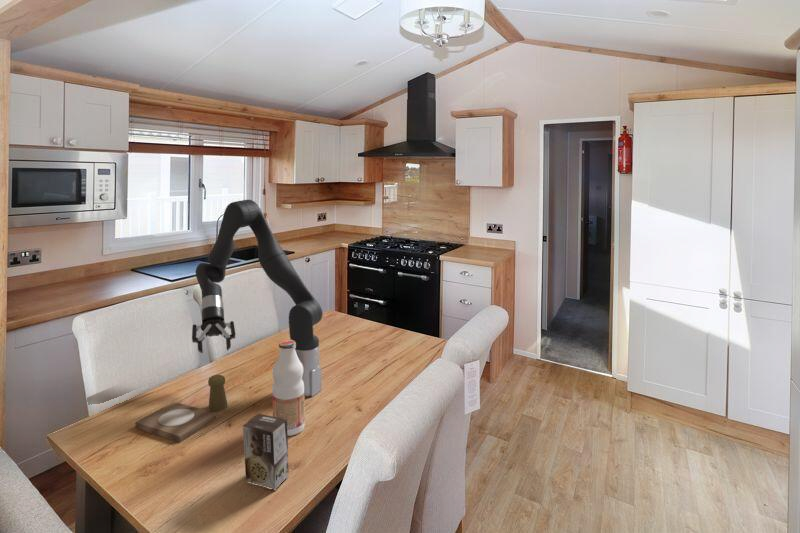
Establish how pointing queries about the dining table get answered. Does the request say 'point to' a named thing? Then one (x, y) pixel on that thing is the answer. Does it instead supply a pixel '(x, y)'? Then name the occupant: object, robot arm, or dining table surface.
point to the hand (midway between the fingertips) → (214, 350)
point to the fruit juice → (289, 388)
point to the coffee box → (266, 450)
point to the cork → (217, 393)
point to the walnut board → (176, 421)
